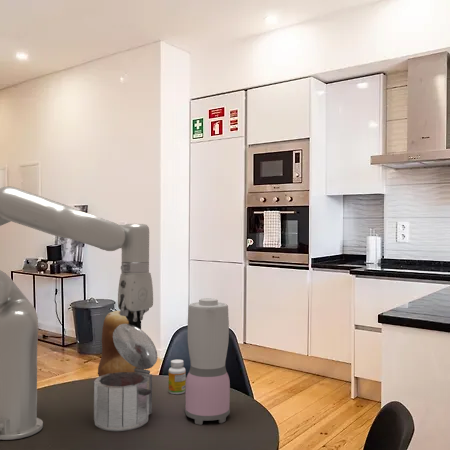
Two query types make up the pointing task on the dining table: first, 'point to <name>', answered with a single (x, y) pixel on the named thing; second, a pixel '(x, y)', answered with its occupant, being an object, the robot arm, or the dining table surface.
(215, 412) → the blender
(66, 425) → the dining table surface
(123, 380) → the pot
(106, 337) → the butternut squash
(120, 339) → the lid
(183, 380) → the supplement bottle
